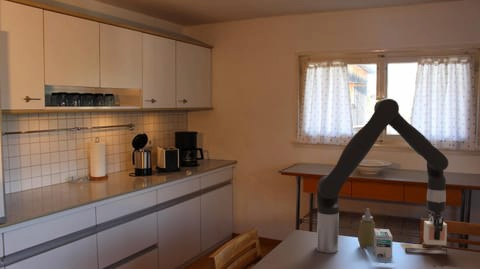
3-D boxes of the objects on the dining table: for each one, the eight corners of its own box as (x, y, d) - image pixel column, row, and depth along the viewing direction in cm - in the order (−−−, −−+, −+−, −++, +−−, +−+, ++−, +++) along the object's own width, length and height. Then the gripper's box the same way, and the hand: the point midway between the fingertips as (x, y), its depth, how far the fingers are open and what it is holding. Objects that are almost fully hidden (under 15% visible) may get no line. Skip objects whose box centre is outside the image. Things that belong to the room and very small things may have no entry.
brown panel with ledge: (405, 256, 187) (405, 248, 187) (399, 246, 199) (399, 239, 199) (447, 258, 185) (447, 250, 184) (438, 248, 197) (438, 241, 196)
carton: (423, 240, 192) (424, 220, 192) (442, 241, 191) (443, 221, 191) (426, 244, 187) (427, 224, 187) (446, 245, 186) (447, 224, 186)
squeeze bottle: (378, 246, 199) (379, 208, 198) (373, 251, 193) (374, 211, 191) (360, 243, 204) (361, 205, 202) (355, 248, 197) (356, 209, 196)
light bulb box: (392, 261, 181) (393, 236, 180) (375, 260, 182) (376, 235, 181) (388, 252, 191) (389, 228, 190) (373, 251, 193) (373, 228, 192)
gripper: (422, 195, 195) (421, 232, 197) (432, 202, 181) (430, 242, 183) (440, 196, 194) (438, 233, 196) (451, 203, 180) (449, 243, 181)
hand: (434, 237), depth 189 cm, fingers closed on carton, 5 cm apart
